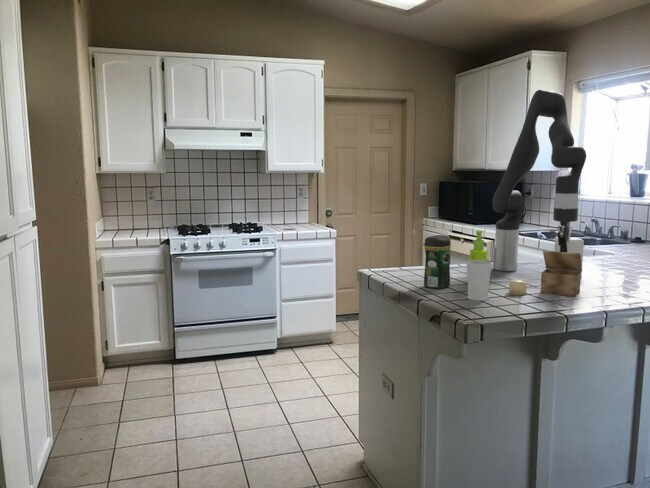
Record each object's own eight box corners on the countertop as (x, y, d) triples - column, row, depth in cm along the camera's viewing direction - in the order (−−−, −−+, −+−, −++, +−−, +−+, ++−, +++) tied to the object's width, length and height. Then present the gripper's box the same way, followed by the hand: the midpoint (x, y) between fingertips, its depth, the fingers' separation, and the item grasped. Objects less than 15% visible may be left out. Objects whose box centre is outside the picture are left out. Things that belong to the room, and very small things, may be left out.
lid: (542, 252, 182) (543, 250, 183) (545, 268, 189) (546, 266, 190) (580, 255, 176) (580, 253, 176) (581, 272, 183) (582, 269, 183)
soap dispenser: (486, 284, 196) (488, 230, 193) (485, 288, 189) (487, 232, 187) (469, 283, 198) (471, 229, 195) (468, 287, 191) (470, 231, 189)
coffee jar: (433, 283, 199) (435, 233, 196) (453, 286, 193) (454, 234, 191) (419, 287, 192) (420, 235, 189) (439, 290, 186) (440, 237, 184)
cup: (461, 295, 178) (463, 260, 176) (485, 295, 179) (486, 259, 177) (470, 301, 170) (471, 264, 169) (494, 301, 171) (496, 263, 169)
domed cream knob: (507, 293, 181) (507, 281, 181) (511, 290, 186) (511, 279, 185) (524, 295, 178) (524, 283, 178) (527, 292, 183) (528, 280, 182)
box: (540, 292, 182) (541, 272, 181) (545, 288, 190) (546, 268, 189) (575, 296, 176) (577, 275, 176) (579, 291, 184) (580, 271, 183)
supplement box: (582, 278, 208) (584, 239, 206) (557, 277, 210) (559, 239, 208) (576, 273, 217) (578, 237, 215) (552, 273, 218) (554, 236, 216)
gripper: (557, 205, 187) (554, 254, 190) (550, 207, 176) (548, 259, 179) (580, 205, 183) (578, 255, 186) (575, 208, 172) (572, 261, 175)
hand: (563, 257), depth 182 cm, fingers closed
